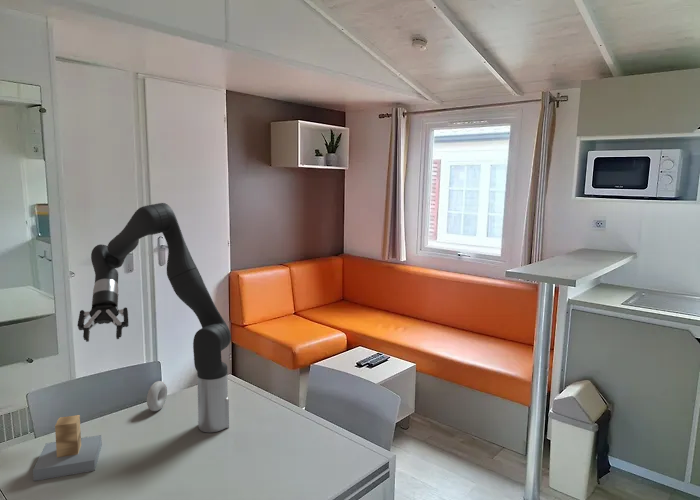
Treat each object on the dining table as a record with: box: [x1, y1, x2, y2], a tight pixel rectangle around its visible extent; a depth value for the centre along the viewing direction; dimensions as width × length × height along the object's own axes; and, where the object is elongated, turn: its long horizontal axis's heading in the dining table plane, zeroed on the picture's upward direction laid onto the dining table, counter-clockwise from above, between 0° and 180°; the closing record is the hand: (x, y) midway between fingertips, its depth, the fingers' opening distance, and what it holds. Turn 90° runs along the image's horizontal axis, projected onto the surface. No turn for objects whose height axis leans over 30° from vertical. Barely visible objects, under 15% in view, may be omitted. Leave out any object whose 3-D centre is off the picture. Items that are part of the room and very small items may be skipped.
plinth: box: [32, 434, 103, 482], centre depth 130 cm, size 14×14×3 cm
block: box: [54, 414, 82, 458], centre depth 129 cm, size 5×5×9 cm
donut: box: [146, 380, 168, 412], centre depth 162 cm, size 10×4×10 cm, turn 173°
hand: (102, 339), depth 147 cm, fingers open, 8 cm apart
